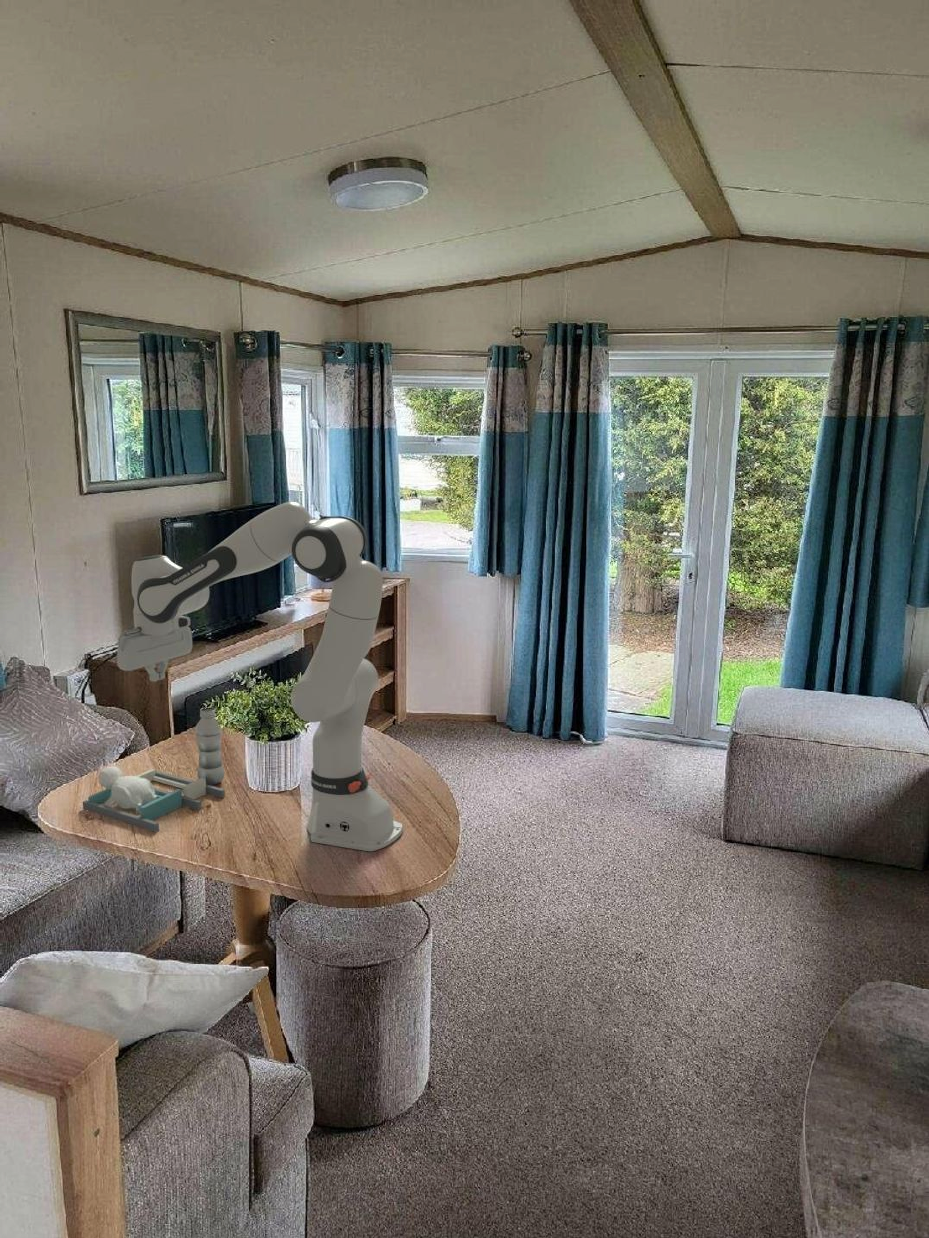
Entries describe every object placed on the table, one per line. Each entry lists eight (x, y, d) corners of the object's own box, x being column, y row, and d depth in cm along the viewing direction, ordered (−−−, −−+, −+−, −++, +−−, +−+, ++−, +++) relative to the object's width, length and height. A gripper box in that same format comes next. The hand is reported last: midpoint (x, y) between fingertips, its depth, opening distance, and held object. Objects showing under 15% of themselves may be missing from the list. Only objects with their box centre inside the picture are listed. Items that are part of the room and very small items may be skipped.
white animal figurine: (155, 813, 214) (112, 781, 219) (163, 785, 211) (119, 754, 216) (129, 827, 207) (84, 794, 211) (137, 798, 204) (92, 766, 208)
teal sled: (182, 805, 211) (181, 789, 210) (144, 824, 201) (143, 808, 200) (128, 789, 219) (127, 774, 219) (89, 806, 209) (87, 791, 208)
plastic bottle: (220, 788, 222) (217, 713, 218) (194, 787, 222) (190, 713, 218) (227, 778, 228) (224, 705, 224) (202, 777, 228) (198, 705, 224)
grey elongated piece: (206, 793, 218) (205, 778, 217) (187, 802, 213) (186, 787, 212) (152, 778, 226) (151, 764, 226) (133, 787, 221) (132, 772, 220)
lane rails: (224, 796, 217) (224, 789, 217) (155, 832, 198) (155, 824, 197) (155, 777, 228) (154, 770, 227) (83, 809, 208) (82, 801, 208)
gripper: (128, 634, 194) (132, 693, 197) (195, 617, 211) (198, 671, 215) (108, 630, 197) (112, 688, 200) (176, 614, 214) (179, 668, 217)
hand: (157, 679), depth 207 cm, fingers closed
